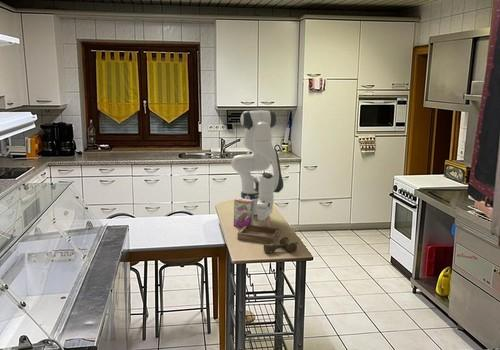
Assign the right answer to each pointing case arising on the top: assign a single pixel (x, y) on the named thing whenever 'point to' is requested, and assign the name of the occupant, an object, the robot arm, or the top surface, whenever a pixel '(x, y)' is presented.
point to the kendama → (281, 245)
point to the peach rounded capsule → (266, 222)
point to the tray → (258, 234)
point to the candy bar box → (243, 212)
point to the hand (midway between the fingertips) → (265, 223)
